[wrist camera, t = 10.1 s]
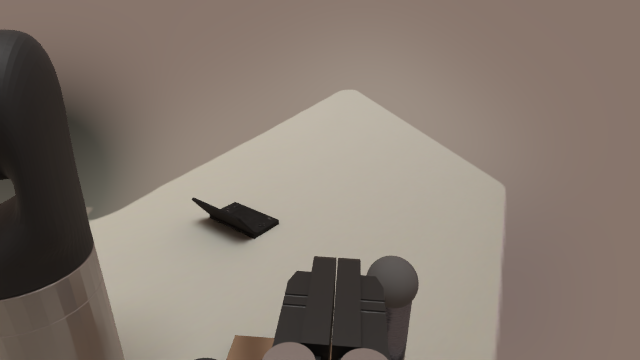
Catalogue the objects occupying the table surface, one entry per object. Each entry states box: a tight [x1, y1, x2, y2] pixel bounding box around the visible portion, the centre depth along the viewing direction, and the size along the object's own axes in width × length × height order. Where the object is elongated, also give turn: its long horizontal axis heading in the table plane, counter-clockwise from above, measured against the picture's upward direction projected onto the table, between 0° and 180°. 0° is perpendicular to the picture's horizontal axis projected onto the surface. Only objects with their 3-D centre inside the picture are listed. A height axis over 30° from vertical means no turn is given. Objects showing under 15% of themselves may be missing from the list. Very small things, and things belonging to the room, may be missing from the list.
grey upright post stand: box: [367, 256, 418, 360], centre depth 32 cm, size 11×7×17 cm, turn 79°
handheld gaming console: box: [192, 198, 279, 239], centre depth 68 cm, size 12×7×10 cm
